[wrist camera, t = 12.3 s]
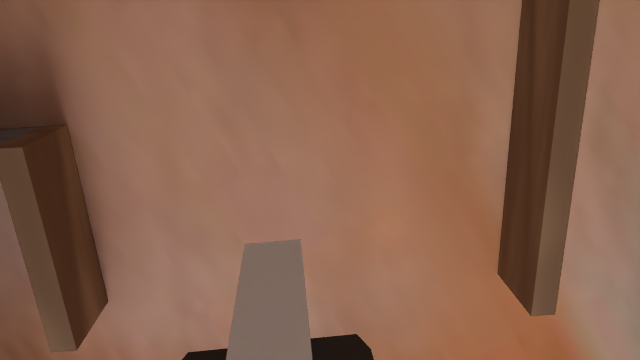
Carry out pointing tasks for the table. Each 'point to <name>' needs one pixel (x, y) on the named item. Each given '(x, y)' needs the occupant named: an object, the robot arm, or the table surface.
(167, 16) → the table surface
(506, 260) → the channel
